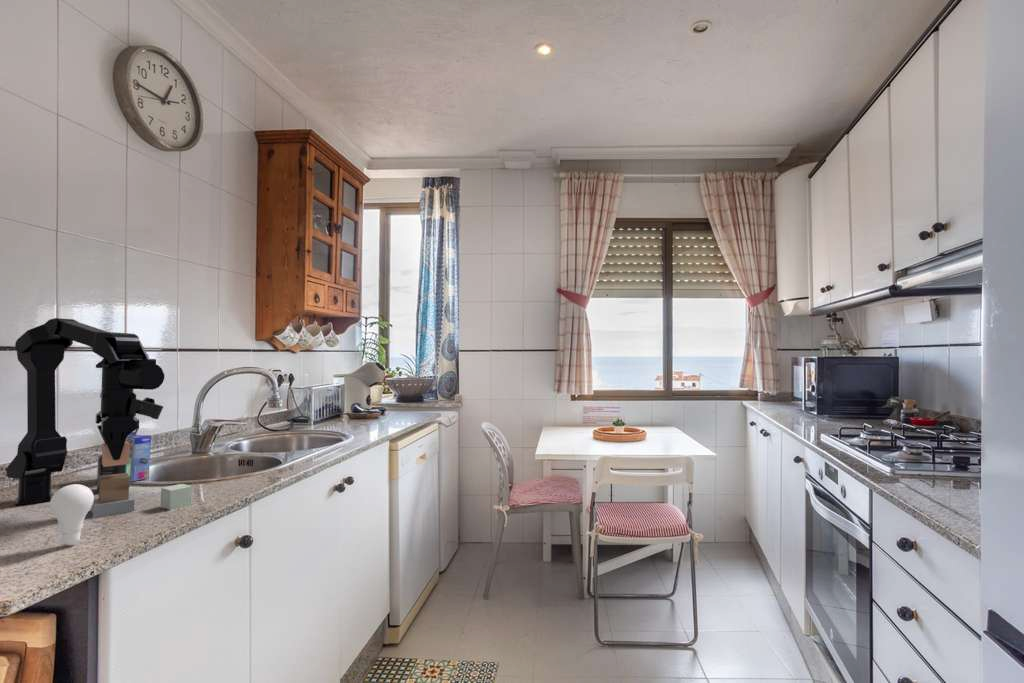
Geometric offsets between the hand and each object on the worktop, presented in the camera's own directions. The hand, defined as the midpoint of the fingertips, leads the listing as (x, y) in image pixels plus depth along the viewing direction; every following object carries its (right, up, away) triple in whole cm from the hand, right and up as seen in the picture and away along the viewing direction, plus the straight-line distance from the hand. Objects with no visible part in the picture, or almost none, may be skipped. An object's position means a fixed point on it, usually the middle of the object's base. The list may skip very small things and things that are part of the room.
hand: (115, 458), depth 114 cm
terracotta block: (0, -1, 0) cm, 1 cm away
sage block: (+11, -12, +3) cm, 17 cm away
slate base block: (0, -12, -1) cm, 12 cm away
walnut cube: (0, -9, 0) cm, 9 cm away
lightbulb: (+8, -11, -21) cm, 25 cm away
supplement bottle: (-14, -12, +18) cm, 26 cm away
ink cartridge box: (-19, -13, +29) cm, 36 cm away
